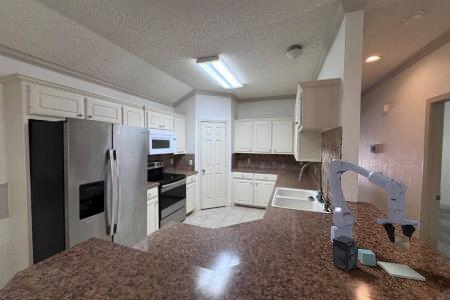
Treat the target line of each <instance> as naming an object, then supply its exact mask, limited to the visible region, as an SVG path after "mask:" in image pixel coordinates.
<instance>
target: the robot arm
mask: <svg viewBox="0 0 450 300" xmlns="http://www.w3.org/2000/svg"><path fill="white" fill-rule="evenodd" d="M327 166H328V170H327V175H326V176H327V180H328V184H329V188H330V192H331V195H332V197H331V198H332V201H333V205H334V210H333V211H332V215H333V217H332V221H333V224H334V225H331V227H330V242H331V243H332V244H333V238H336V237H339V236H342V235H343V236H346V237H349V238H353V236H354V235H353V225H354V224H355V221H356V220H355V217H354V216H353V214H352V212H351V210H350V209H349V208H348V207H347V203H346V200H345V196H344V191H343V187H342V183H341V180H340V178H341V176H342V175H344V174H345V173H346V172H347V171H352V172H353V173H356V174H359V175H360V176H362V177H365V178H367V180H368V182H369V183H371V184H373V185H374V186H377V187H379V188H380V189H382V190H384V191H385V192H386V193H387V207H388V208H387V209H388V211H387V212H388V217H387V218H386V217H385V218H383V217H377V218H376V223H377V224H380V225H382V227H383V228H384V230H385V232H386V235H387V237H388V239H389V243H390V242H392V243H394V242H395V238H394V233H395V231H396V227H395V226H394V225H398V226H400V227H401V230H402V234H403V235H405V236H407V237H409V243H410V241H411V238H412V237H413V234H414V233H415V231H416V230H417V229H416V227H417V228H418V227H419V228H420V227H421V221H417V220H410V219H407V218H408V217H407V204H406V192H407V189H408V188H407V185H406V184H405V183H404V182H403V181H401V180H395V178H394V177H389V176H387V175H385V174H384V173H383V172H382V171H370V170H368V169H366V168H365V167H362V166H361V165H358V164H356V163H355V162H353V161H350V160H347V159H337V158H333V159H332V160H331V161H329V163H328V164H327ZM353 239H354V238H353Z"/></svg>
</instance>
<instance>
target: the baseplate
mask: <svg viewBox="0 0 450 300" xmlns="http://www.w3.org/2000/svg"><path fill="white" fill-rule="evenodd" d="M376 265H378V266H379V267H381V268H382V269H383V270H384V271H385V272H386V273H388V274H389V276H391V277H394V278H401V279H409V280H418V281H422V282H423V281H424V282H425V281H426V278H425V277H424V276H422V275H421V274H420V273H418V272H417V271H416V270H414V269H413V268H411V266H408V265H407V264H402V263H401V264H400V263H394V262H385V261H376Z"/></svg>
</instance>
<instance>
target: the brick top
mask: <svg viewBox="0 0 450 300" xmlns="http://www.w3.org/2000/svg"><path fill="white" fill-rule="evenodd" d="M376 257H377V256H376V254H375V252H373V251H372V250H370V249H362V248H357V260H358V259H359V260H360V261H359V260H358V261H359V262H360V263H361V264H362V265H363V264H364V265H365V266H371V267H377V261H376Z"/></svg>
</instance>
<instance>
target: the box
mask: <svg viewBox="0 0 450 300" xmlns="http://www.w3.org/2000/svg"><path fill="white" fill-rule="evenodd" d="M332 258H333V259H332V265H333V267H336V268H338V269H340V268H341V270H343V269H344V271H345V270H346V271H345V272H349V271H351V270H353V269H355V268H357V267H358V248H357V239H355V238H349V237H346V236H343V235H342V236H339V237H336V238H333V243H332ZM354 267H355V268H354Z"/></svg>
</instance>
